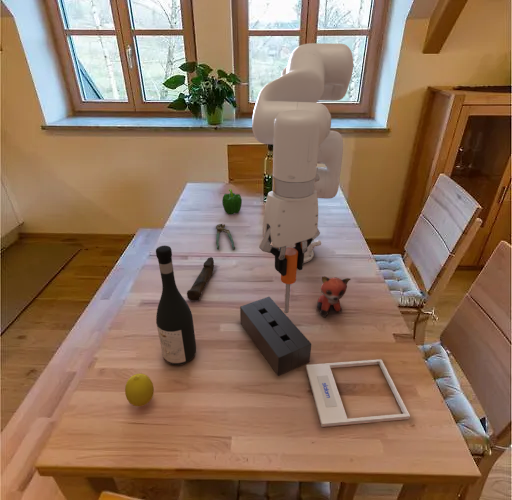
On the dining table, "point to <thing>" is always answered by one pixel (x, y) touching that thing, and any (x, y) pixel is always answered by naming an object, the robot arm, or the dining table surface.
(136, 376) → the lemon
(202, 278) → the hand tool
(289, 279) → the orange tool handle
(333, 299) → the stuffed fox
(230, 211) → the bell pepper
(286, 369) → the rack
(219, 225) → the pliers
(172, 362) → the wine bottle
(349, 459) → the dining table surface
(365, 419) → the photo frame
